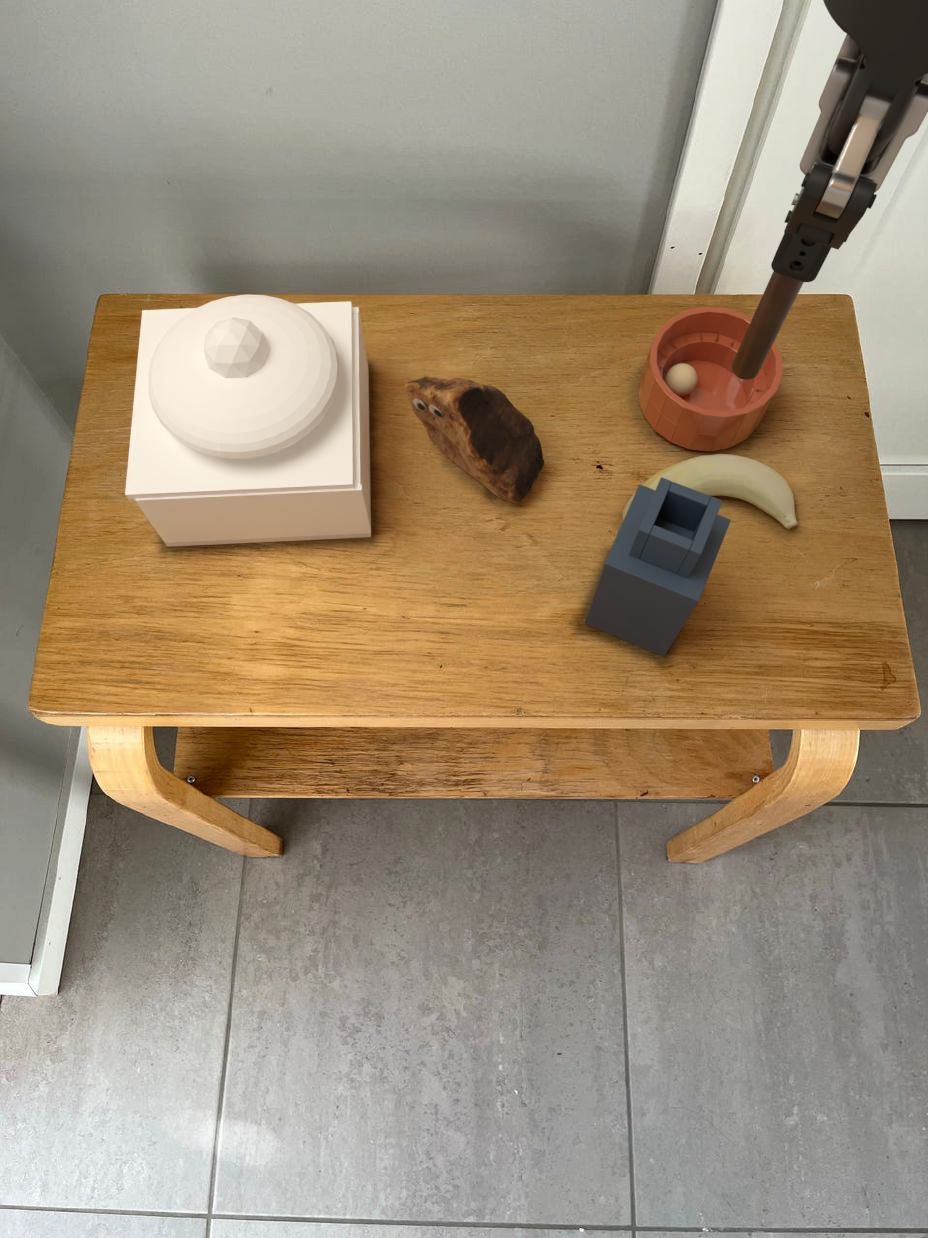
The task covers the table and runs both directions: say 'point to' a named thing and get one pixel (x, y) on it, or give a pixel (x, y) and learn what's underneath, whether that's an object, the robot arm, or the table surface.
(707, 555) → the holder
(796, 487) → the table surface
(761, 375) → the bowl
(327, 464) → the white lidded box
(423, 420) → the decorative rock
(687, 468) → the fruit
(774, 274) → the stick
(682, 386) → the ball
